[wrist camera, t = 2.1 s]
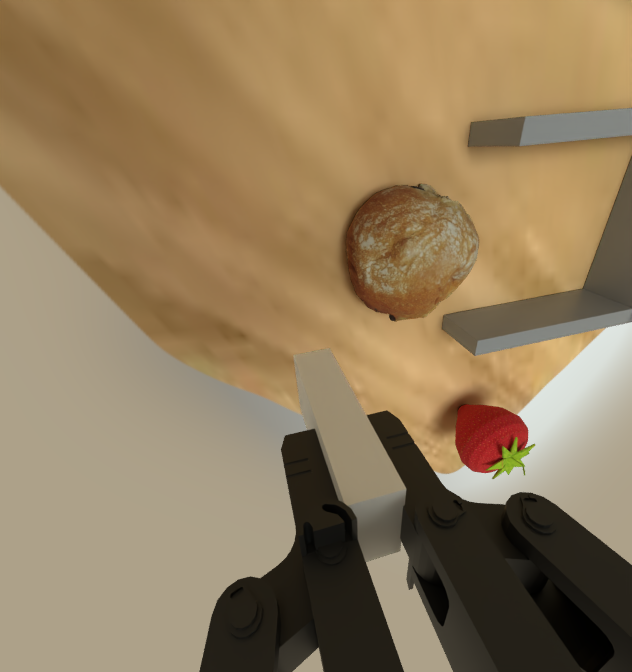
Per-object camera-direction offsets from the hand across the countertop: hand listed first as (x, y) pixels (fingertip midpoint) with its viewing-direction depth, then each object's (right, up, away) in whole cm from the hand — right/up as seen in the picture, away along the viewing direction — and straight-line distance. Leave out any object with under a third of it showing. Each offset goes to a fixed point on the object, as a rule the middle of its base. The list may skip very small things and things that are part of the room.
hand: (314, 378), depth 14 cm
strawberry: (+17, -7, +25) cm, 31 cm away
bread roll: (+7, +9, +14) cm, 18 cm away
